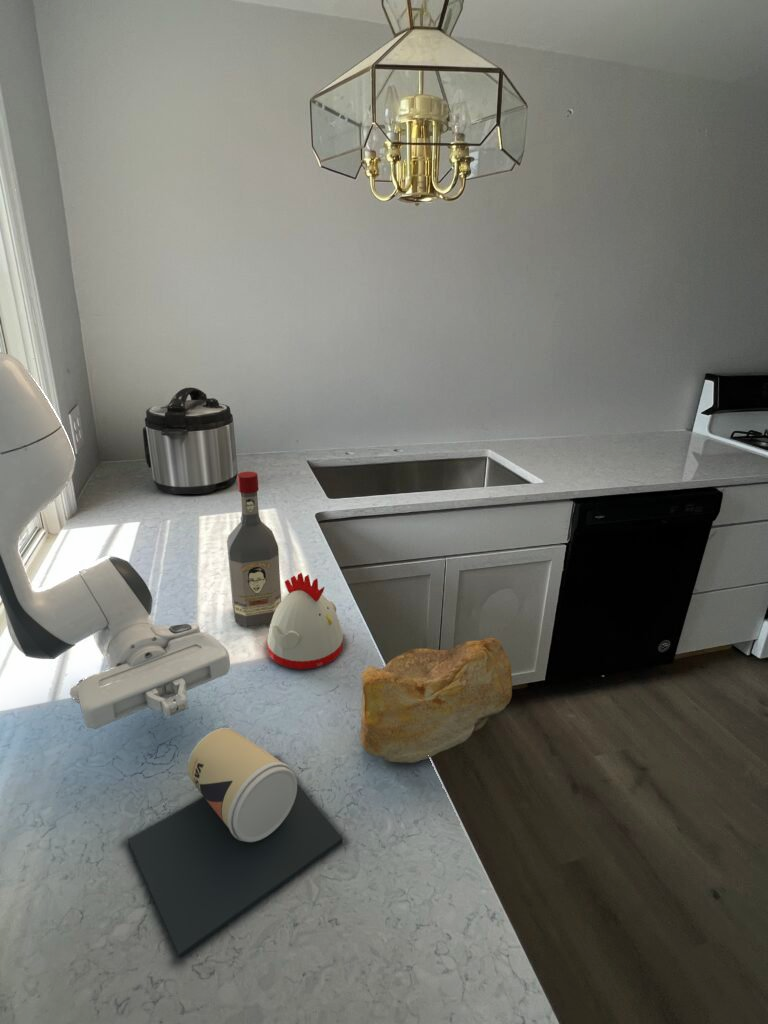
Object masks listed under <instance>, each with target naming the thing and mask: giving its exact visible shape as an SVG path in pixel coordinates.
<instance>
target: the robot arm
mask: <svg viewBox="0 0 768 1024" xmlns="http://www.w3.org/2000/svg"><path fill="white" fill-rule="evenodd" d="M52 405H53V404H51V402H50V400H49V399H48V397H47V396H46V395H45V392H44V391H43V390H42V388H41V387H40V386H39V384H38V383H37V381H36V380H35V378H34V376H33V375H32V374H31V373H30V372H29V370H28V369H27V368H26V367H25V366H24V364H23V363H22V362H21V361H20V360H19V359H18V358H16V357H15V356H13V355H12V354H8V353H5V352H2V351H0V600H1V602H2V604H3V607H4V608H3V609H4V613H5V614H4V615H5V621H6V626H7V630H8V634H9V636H10V638H11V641H12V642H13V644H14V645H15V647H16V648H17V649H18V650H19V651H20V653H22V654H24V656H25V657H27V658H32V659H39V660H55V659H57V658H58V657H59V656H61V655H62V654H65V652H67V651H68V650H70V649H72V648H73V647H74V646H76V645H77V644H79V643H80V642H81V641H83V640H85V639H87V638H89V637H90V636H92V637H93V639H94V642H95V643H96V647H97V648H98V650H99V651H100V653H101V655H102V656H103V657H105V661H106V664H107V666H108V667H109V668H108V669H106V670H103V671H100V672H98V673H94V674H92V675H90V676H87V677H84V678H82V679H80V680H79V681H78V683H77V684H75V685H73V686H72V687H70V689H69V695H70V697H71V700H72V701H73V702H74V703H76V704H80V705H79V706H80V709H81V714H82V718H83V721H84V725H85V727H86V728H88V729H93V730H97V729H100V728H102V727H105V726H107V725H110V724H111V723H114V722H116V721H119V720H121V719H123V718H126V717H128V716H131V715H133V714H135V713H138V712H140V711H143V710H144V709H147V708H149V709H150V710H153V711H157V712H160V713H163V714H164V716H165V718H167V719H168V718H170V717H171V716H174V715H176V714H178V713H181V712H183V711H185V710H187V709H189V703H188V702H189V701H188V699H187V695H188V694H187V692H188V691H191V690H193V689H195V688H197V687H199V686H203V685H204V684H207V683H209V682H212V681H214V680H217V679H218V678H221V677H224V676H226V675H228V673H229V672H230V668H231V659H230V654H229V651H228V649H227V648H226V647H225V646H224V645H223V644H222V643H221V642H220V641H219V640H218V639H217V638H215V637H214V636H213V635H211V634H209V633H207V632H202V631H201V629H200V626H199V624H198V623H197V622H187V623H181V624H180V623H179V624H174V625H173V624H171V625H156V623H155V621H154V619H153V618H152V616H151V613H152V609H153V597H152V593H151V591H150V589H149V586H148V585H147V583H146V582H145V580H144V579H143V578H142V576H141V575H140V573H138V572H137V570H136V568H134V566H132V565H131V563H130V562H129V561H128V560H125V559H123V558H121V557H118V556H113V555H106V556H104V557H102V558H101V557H100V558H99V559H97V560H94V561H93V562H91V563H88V564H87V565H84V566H82V567H80V568H79V569H77V570H76V571H74V572H71V573H69V574H67V575H66V576H63V577H61V578H59V579H57V580H55V581H53V582H50V583H49V584H47V585H44V586H42V587H38V588H37V587H36V588H35V587H33V586H32V583H31V581H30V578H29V574H28V573H27V569H26V566H25V564H24V561H23V558H22V555H21V553H20V549H19V544H20V543H19V542H20V539H21V537H22V534H23V532H24V531H25V530H26V528H27V527H28V526H29V524H31V522H32V521H34V519H35V518H36V517H37V516H38V515H39V514H41V512H43V511H44V510H45V509H46V508H47V507H49V505H51V504H52V503H53V502H54V501H56V499H57V498H59V496H60V495H61V494H62V493H63V491H64V490H65V489H66V488H67V486H68V485H69V483H70V481H71V479H72V477H73V474H74V472H75V467H76V456H75V452H74V449H73V446H72V444H71V441H70V438H69V436H68V434H67V432H66V430H65V427H64V425H63V424H62V422H61V420H60V418H59V416H58V414H57V413H56V410H55V409H54V406H52Z"/></svg>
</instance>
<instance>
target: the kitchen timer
mask: <svg viewBox="0 0 768 1024" xmlns="http://www.w3.org/2000/svg"><path fill="white" fill-rule="evenodd" d="M284 584H285V588H286V589H287V592H288V594H287V595H285V596H284V597H283V598H282V599H281V602H280V604H279V605H278V607H277V608H276V610H275V612H274V614H273V618H272V621H271V624H269V629H268V633H267V638H266V639H267V640H266V644H267V645H266V646H267V652H268V655H269V657H270V658H271V659H272V661H273V662H275V663H277V664H278V665H280V666H282V667H285V668H289V669H294V670H308V669H309V670H310V669H316V668H319V667H323V666H325V665H328V664H329V663H331V662H333V661H334V660H335V659H336V658H337V657H339V656H340V655H341V653H342V650H343V647H344V646H343V644H344V643H343V642H344V641H343V640H344V639H343V637H344V636H343V629H342V625H341V622H340V620H339V617H338V614H337V606H336V604H335V603H334V602H333V601H331V600H329V599H328V598H327V597H326V596H324V595H323V594H324V591H325V586H323V587H321V588H320V589H319V581H318V578H315V579H313V581H312V583H311V579H310V575H309V574H307V575H305V576H304V575H303V573H302V572H300V573H298V574H297V577H296V576H295V575H293V576H291V577H290V580H289V579H286V580H285V581H284Z"/></svg>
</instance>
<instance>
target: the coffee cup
mask: <svg viewBox="0 0 768 1024" xmlns="http://www.w3.org/2000/svg"><path fill="white" fill-rule="evenodd" d="M276 758H277V757H275V756H274V755H272V754H271V753H269V752H268V751H266V750H264V749H263V748H262V747H260V746H259V745H257V743H256V744H255V742H253V741H251V740H250V739H248V738H247V737H246V736H244V735H242V734H241V733H239V732H238V731H236V730H234V729H233V728H230V727H220V728H217V729H214V730H212V731H210V732H208V733H207V734H206V735H204V736H203V737H202V738H201V739H200V740H199V741H198V742H197V744H196V745H195V746H194V747H193V749H192V750H191V753H190V755H189V757H188V761H187V767H186V768H187V769H186V770H187V774H188V777H189V779H190V781H191V782H192V784H193V785H194V786H195V787H196V789H197V790H198V792H199V793H200V794H201V795H202V797H204V798H205V799H206V800H207V802H208V803H209V804H210V805H211V807H212V808H213V809H214V811H215V812H216V813H217V814H218V816H219V817H220V818H221V819H222V821H223V822H224V823H225V824H226V825H227V827H228V828H229V830H230V832H231V833H232V835H233V836H234V837H235V838H236V839H238V840H240V841H245V842H255V841H259V840H261V839H263V838H265V837H267V836H268V835H270V834H271V833H272V832H273V831H274V830H276V829H277V828H278V827H279V826H280V824H281V823H282V822H283V821H284V819H285V818H286V817H287V815H288V813H289V812H290V810H291V808H292V806H293V803H294V801H295V798H296V793H297V784H298V781H297V778H296V773H295V772H294V770H293V768H292V767H291V766H289V765H288V764H286V763H284V762H282V761H281V760H280V759H278V758H277V759H276Z"/></svg>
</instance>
